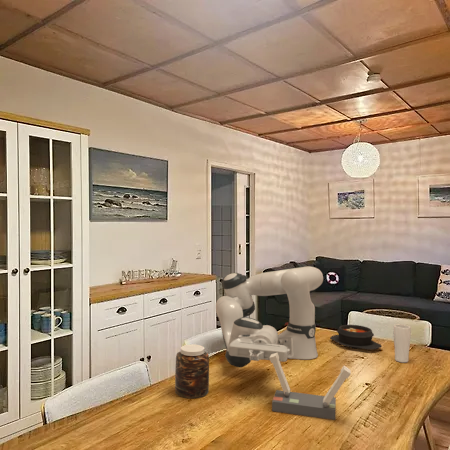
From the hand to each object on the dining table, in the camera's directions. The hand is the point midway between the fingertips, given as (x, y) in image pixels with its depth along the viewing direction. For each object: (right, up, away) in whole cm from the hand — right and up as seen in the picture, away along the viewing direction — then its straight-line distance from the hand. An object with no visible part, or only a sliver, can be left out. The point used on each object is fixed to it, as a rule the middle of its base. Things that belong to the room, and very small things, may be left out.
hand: (253, 358), depth 132 cm
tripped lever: (+11, -10, -2) cm, 15 cm away
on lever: (+21, -11, -9) cm, 25 cm away
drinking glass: (+67, -15, +42) cm, 80 cm away
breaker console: (+16, -14, -5) cm, 22 cm away
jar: (-21, -14, +7) cm, 26 cm away
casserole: (+53, -15, +63) cm, 84 cm away
